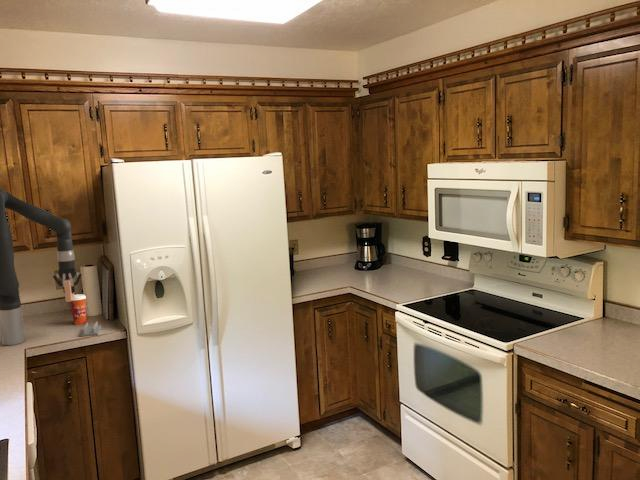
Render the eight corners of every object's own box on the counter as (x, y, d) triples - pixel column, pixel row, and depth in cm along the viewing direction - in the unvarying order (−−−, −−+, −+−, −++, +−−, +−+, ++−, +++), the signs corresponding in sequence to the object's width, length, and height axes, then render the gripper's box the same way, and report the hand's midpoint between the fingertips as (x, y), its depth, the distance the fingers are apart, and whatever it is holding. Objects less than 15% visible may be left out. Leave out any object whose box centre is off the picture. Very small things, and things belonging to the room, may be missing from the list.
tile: (71, 301, 261) (69, 281, 260) (65, 301, 260) (63, 281, 259) (74, 297, 270) (72, 277, 268) (69, 297, 269) (67, 278, 268)
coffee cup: (77, 326, 280) (74, 298, 278) (69, 323, 285) (66, 296, 283) (91, 322, 287) (89, 295, 284) (83, 319, 292) (81, 293, 289)
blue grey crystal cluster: (80, 336, 263) (79, 330, 262) (84, 328, 275) (83, 322, 274) (97, 335, 265) (96, 328, 264) (101, 327, 277) (100, 320, 276)
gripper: (49, 261, 257) (52, 296, 259) (80, 259, 260) (83, 294, 263) (52, 259, 264) (56, 293, 266) (82, 257, 267) (85, 290, 270)
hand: (69, 293), depth 265 cm, fingers closed on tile, 2 cm apart
